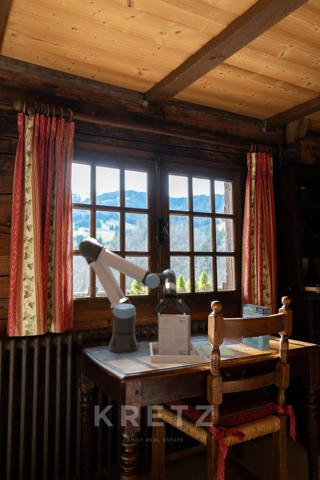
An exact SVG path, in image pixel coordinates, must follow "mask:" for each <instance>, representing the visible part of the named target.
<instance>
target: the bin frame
mask: <svg viewBox="0 0 320 480" xmlns="http://www.w3.org/2000/svg"><path fill="white" fill-rule="evenodd" d="M154 350H158V342H149V355H150V363H152V364H154V363H155V364H157V363H158V364H163V363H166V364H168V363H169V364H170V363H171V364H173V363H174V364H175V363H176V364H177V363H178V364H181V363H183V364H185V363H186V364H190V363H191V364H194V363H195V364H197V363H198V364H199V363H200V364H202V363H203V355H202V353H201V352H200V351H199V349H198V348H197V346H196V344H195V343H194V342H190V350H192V351H193V353H194V354H195V355H190V356H158V355H154Z"/></svg>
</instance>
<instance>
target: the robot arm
mask: <svg viewBox="0 0 320 480" xmlns="http://www.w3.org/2000/svg"><path fill="white" fill-rule="evenodd" d="M78 252H79V254H80V256H81V257H82V258H84V259H85V261H86V264H87V265H88V266H89V267H91V268H92V269H93V271H94V272H95V275H96V277H97V278H98V280H99V282H100V285H101V287H102V288H103V290H104V292H105V293H106V296H107V298H108V300H109V302H110V310H111V312H112V317H113V319H112V322H113V323H112V336H111V339H110V342H109V345H108V349H109V350H108V351H110V352H113V353H116V354H117V353H118V354H119V353H122V354H123V353H125V354H126V353H134V352H137V351H138V350H139V344H138V341H137V338H136V332H135V331H136V317H137V311H136V310H137V309H136V307H135V305H133V304H132V302H131V300H130V298H129V297H126V296H125V294H124V293H123V291H122V289H121V286H120V285H119V282H118V281H117V279H116V277H115V275H114V273H113V271H112V269H113V270H115V271H117V272H119V273H121V274H124V275H125V276H127V277H129V278H131V279H133V280H135V281H136V282H138V283H141V284H142V286H143V287H147V288H150V289H156V288H158V287H162V289H163V291H162V292H163V299H162V298H160V297H159V298H157V302H156V304H155V305H154V307H153V309H152V310H151V314H152V315H155V320H157V321H158V316H160V315H161V313H162V311H164V309H166V308H175V309H177V310H178V311H180V312H181V314H182V315H190V316H191V309H190V308H189V306H188V305H187V304H186V303H185V301H184V298H183V297H181V298H180V299H178V290H177V277H176V273H175V270H173V269H171V268H168V269H165V270H164V271H163V272H161V273H158V272H157V273H155V272H154V273H153V272H151V271H149V270H147V269H145V268H144V267H141V266H139V265H138V264H135V263H134V262H132V261H129V260H128V259H125V258H124V257H122V256H120V255H118V254H116V253H114V252H112V251H110V250H108V249H107V247H106V246H105V245H103V244H102V243H101V242H100V241H99V240H97V239H96V238H93V237H86V238H84V239H82V240H81V241H80V243H79V245H78ZM161 304H162V305H161Z"/></svg>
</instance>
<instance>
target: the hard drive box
mask: <svg viewBox="0 0 320 480" xmlns="http://www.w3.org/2000/svg"><path fill="white" fill-rule="evenodd" d="M157 326H158V327H157V331H158V333H157V343H158V349H157V356H191V349H190V343H191V314H190V315H184V314H167V313H166V314H161V313H160V316H158V320H157Z"/></svg>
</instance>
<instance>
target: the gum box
mask: <svg viewBox="0 0 320 480" xmlns="http://www.w3.org/2000/svg"><path fill="white" fill-rule="evenodd" d="M270 314H271V308H270V307H265V306H260V305H256V304H251V303H245V304H244V303H242V319H243V318H249V317H261V316H270V317H271V315H270ZM270 340H271V339H270V335H265V336H259V337H253V338H244V339H243V338H242V344H243V345H247V346H249V347H252V348H254V349H256V350H259V349H260V350H259V351H261V350H269V351H270Z"/></svg>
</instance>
